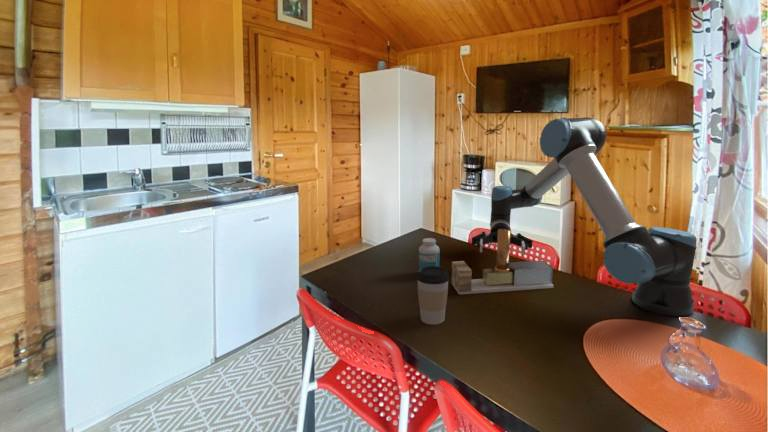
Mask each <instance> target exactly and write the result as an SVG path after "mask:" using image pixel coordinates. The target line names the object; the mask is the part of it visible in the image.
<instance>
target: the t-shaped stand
mask: <svg viewBox="0 0 768 432" xmlns="http://www.w3.org/2000/svg"><path fill="white" fill-rule="evenodd" d="M510 234H512V230H510V229H505V228H501V229H498V239H497V243H496V265H495V266H494V268H484V269H482V279H483V282H484V283H485V284H486V285H495V284H510V283H513V282H514V271H513V270H512V269H511V268H510V267H509V263H510V253H511V252H510V251H511V250H510V247H511V244H510Z"/></svg>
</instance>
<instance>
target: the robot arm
mask: <svg viewBox="0 0 768 432" xmlns="http://www.w3.org/2000/svg"><path fill="white" fill-rule="evenodd" d="M606 130H607V129H606V127H605V126H604V124H603V123H602V122H601V121H600V120H599V119H597V118H593V117H571V118H566V117H560V118H555V119H552V120H550V121H549V122H547V123H546V124H545V126H544V127H543V128H542V130H541V133H540V137H539V146H540V150H541V152H542V154H543V155H545V156H546V157H549V158H553V159H552V160H551V161H550V162H548V163H547V164H546V166H545V167H543V168H542V169H541V170H540V171H539V172H538V173H537V174H536V175H535V176H534V177H533V178H531V180H530V181H528V182H527V183H526V184H525V185H524V186H523V187H522V188H518V189H512V187H511V186H509V185H496V186H494V187H492V189H491V197H490V198H491V199H490V200H491V201H490V203H491V205H490V207H491V210H490V222H489V227H490V229H489V230H490V231H489V232H490V233H487V232H486V231H481V233H479V234H477V235H475V236H473V237H471V245H472V246H475V245H476V249H477V248H478V249H479V253H483V245H487V244H490V243H491V244H495V243H496V244H497V239H498V229H501V228H505V229H510V230H511V212H512V210H515V209H521V208H531V207H534V206H537V205H540V204H541V203H542V200H543V196H545V194H547V192H548V191H550V190H551V189H552V188H553V187H555V186H556V185H557V184H558V183H560V182H561V180H563V179H564V178H565V177H567V175H570V177H571V179H572V180H573V182H574V185H575V186H576V187H577V189H578V191H579V193H580V195H581V196H582V198H583V200H584V202H585V203H586V205H587V207H588V208H589V210H590V213H591V214H592V216H593V217H594V219H595V222H596V223H597V225H598V226H599V227H598V228H600V231H601V232H602V233H603V236H604V239H603V241H602V246H603V248H604V251H603V255H602V256H603V259H602V261H603V265H604V268H605V270H606V271H607V273H609V275H610V276H611V277H613V278H614V279H615V280H617V281H618V282H621V283H624V284H626V285H627V284H628V285H629V284H630V285H633V284H634V285H635V284H637V285H636V288H634V290H633V293H632V296H631V297H632V298H631V301H632V302H633V303H634V304H635V306H637V307H639V308H641V309H643V310H645V311H647V312H650V313H652V314H653V313H654V314H658V315H662V316H668V317H685V316H689V315H691V314H693V312H694V307H695V302H694V300H693V294H692V289H691V278H692V273H693V268H694V261H695V255H696V250H697V247H698V246H697V240H698V239H697V236H695V234H693V233H690V232H687V231H684V230H679V229H674V228H670V227H662V226H661V227H660V226H659V227H658V226H651V227H649V228H648V229H647V227H646V226H645V225H643V224H638V223H637V222H636V221H635V219H634V217H633V216H632V214H631V212H630V211H629V210H628V207H626V205H625V203H624V201H623V199H622V197H621V196H620V195H619V193H618V191H617V189H616V188H615V186H614V184H613V183H612V181H611V180H610V178H609V177H608V175H607V173H606V171H605V170H604V168H603V166H602V164H601V163H600V161H599V160H598V158H597V156H596V155H597V154H598V153H599V152H600V151H601V150H602V149H603V147H604V146H605V144H606V141H607V131H606ZM511 231H512V230H511ZM510 245H514V246H517V247H520V250H521V253H522V255H523V256H524V255H526V251H527V250H528V249H532V248H533V240H532V239H531V238H528V237H526V236H525V235H522V234H521V233H519V232H518V233H517V234H515V235H514V234H513V233H511V234H510Z"/></svg>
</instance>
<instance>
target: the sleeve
mask: <svg viewBox="0 0 768 432" xmlns="http://www.w3.org/2000/svg"><path fill="white" fill-rule="evenodd" d="M509 267H510V268H511V269H512V270H513V271H514V282H513V285H514V286H526V285H540V284H553V275H554V267H553V266H552V265H550V264H549V263H547V262H546V261H545V260H532V261H531V260H530V261H529V260H527V261H517V262H516V261H515V262H509Z"/></svg>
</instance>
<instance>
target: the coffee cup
mask: <svg viewBox="0 0 768 432" xmlns="http://www.w3.org/2000/svg"><path fill="white" fill-rule="evenodd" d="M416 280H417V295H418V306H419V312H420V321H421V322H423V323H424V324H426V325H439V324H441V323H443V322H445V319H446V308H447V300H448V292H449V280H450V277H449V273H448V272H447V271H446V270H445V269H444V268H443V267H434V266H431V267H425V268H423V269H422V270H421V271H420V272H419V271H418V273H417V275H416Z"/></svg>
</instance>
